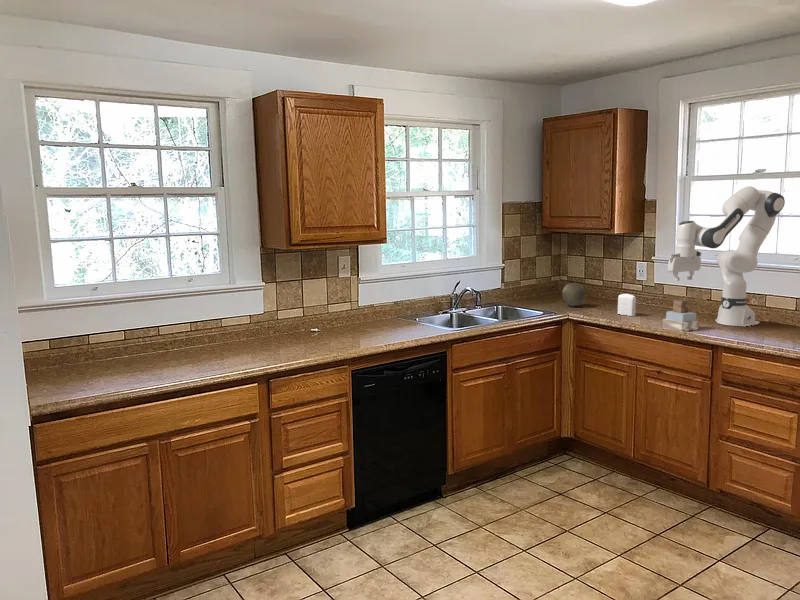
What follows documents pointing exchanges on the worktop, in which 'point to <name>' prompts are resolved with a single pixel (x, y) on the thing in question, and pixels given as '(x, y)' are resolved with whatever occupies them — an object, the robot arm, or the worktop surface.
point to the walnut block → (680, 306)
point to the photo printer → (626, 304)
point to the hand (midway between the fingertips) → (683, 280)
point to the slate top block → (681, 316)
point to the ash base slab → (680, 325)
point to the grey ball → (574, 294)
